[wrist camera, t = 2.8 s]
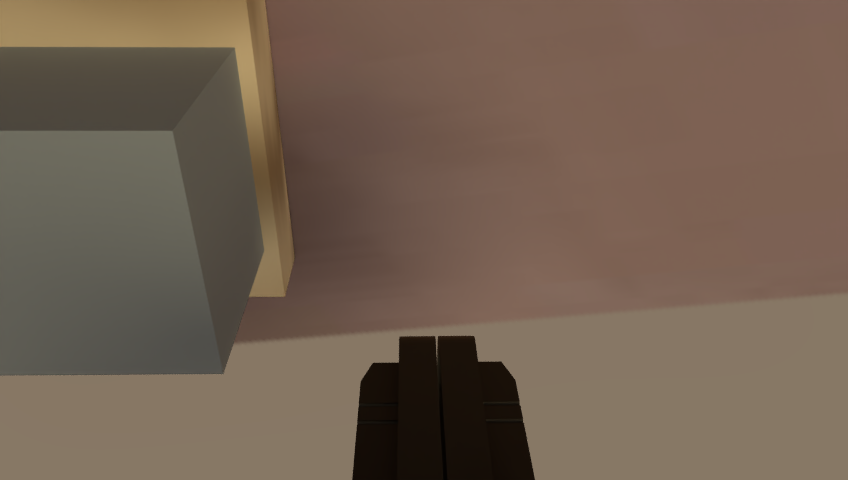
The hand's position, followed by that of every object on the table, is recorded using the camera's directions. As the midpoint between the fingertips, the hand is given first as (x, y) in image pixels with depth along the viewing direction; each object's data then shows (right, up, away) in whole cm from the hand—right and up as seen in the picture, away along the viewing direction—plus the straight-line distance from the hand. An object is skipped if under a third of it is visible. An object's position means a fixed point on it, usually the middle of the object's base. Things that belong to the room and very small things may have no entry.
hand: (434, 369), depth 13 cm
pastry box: (-10, +5, +8) cm, 13 cm away
